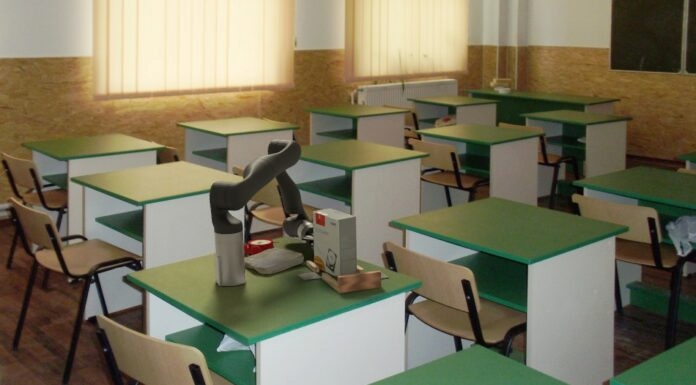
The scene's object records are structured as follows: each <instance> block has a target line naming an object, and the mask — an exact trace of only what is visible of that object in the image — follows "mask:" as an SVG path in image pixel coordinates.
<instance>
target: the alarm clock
mask: <svg viewBox="0 0 696 385" xmlns="http://www.w3.org/2000/svg"><path fill="white" fill-rule="evenodd" d="M277 243H280V241H276V242H275V241H274V240H273V239H271V238H268V237H266V238H265V237H263V238H262V237H259V238H253V239H249V241H248V242H247V243H245V242H244V256H245V255H250V256H252V255H255V254H258V253H261V252H263V251H265V250H268V249H273V248H275V245H274V244H277Z"/></svg>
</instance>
